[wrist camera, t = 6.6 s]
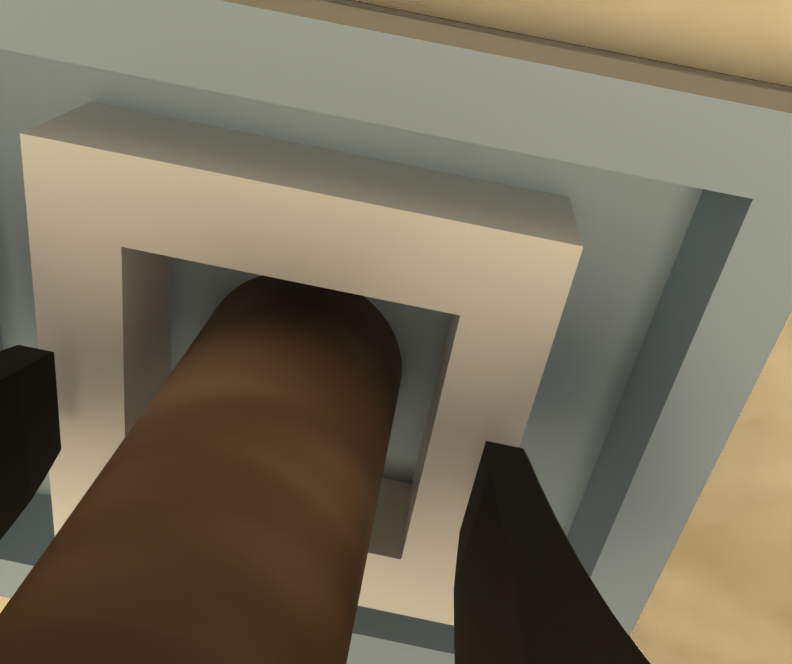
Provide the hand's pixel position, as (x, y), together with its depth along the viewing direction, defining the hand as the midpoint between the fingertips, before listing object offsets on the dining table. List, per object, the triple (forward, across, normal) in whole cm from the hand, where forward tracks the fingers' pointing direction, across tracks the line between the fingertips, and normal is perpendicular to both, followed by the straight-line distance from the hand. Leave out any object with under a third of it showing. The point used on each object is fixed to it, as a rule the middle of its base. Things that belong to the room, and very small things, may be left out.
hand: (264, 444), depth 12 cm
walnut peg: (+3, 0, 0) cm, 3 cm away
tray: (+4, 0, 0) cm, 4 cm away
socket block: (+4, 0, 0) cm, 4 cm away
